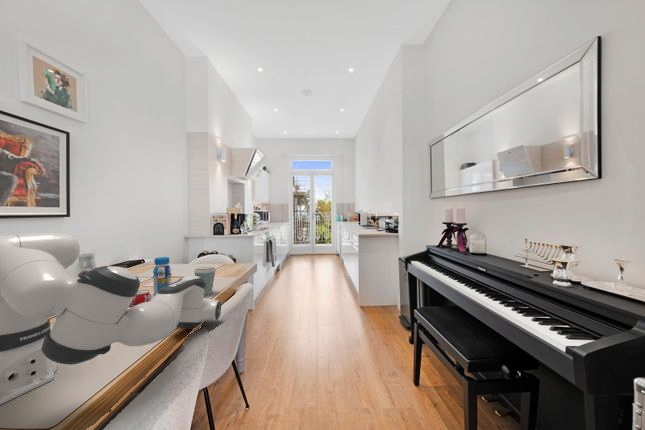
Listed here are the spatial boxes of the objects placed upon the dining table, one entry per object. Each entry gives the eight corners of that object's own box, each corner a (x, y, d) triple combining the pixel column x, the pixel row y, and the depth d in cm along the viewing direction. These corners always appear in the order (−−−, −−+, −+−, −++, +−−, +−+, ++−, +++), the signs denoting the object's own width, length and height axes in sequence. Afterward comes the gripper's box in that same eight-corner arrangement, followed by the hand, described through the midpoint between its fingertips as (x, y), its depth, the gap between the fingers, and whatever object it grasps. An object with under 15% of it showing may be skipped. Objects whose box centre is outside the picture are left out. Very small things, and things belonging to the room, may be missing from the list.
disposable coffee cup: (195, 293, 150) (195, 265, 150) (216, 291, 153) (216, 264, 153) (192, 299, 140) (192, 269, 140) (215, 296, 143) (215, 268, 143)
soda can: (143, 325, 108) (142, 294, 108) (127, 324, 109) (125, 294, 109) (156, 318, 115) (155, 289, 115) (140, 317, 116) (139, 289, 116)
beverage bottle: (149, 297, 143) (148, 259, 143) (163, 292, 151) (162, 256, 151) (162, 298, 141) (161, 259, 141) (175, 293, 149) (174, 256, 149)
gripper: (163, 328, 100) (129, 326, 102) (196, 308, 120) (167, 307, 122) (163, 310, 100) (129, 309, 102) (196, 293, 120) (167, 292, 122)
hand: (150, 308), depth 112 cm, fingers closed, pressing on soda can
